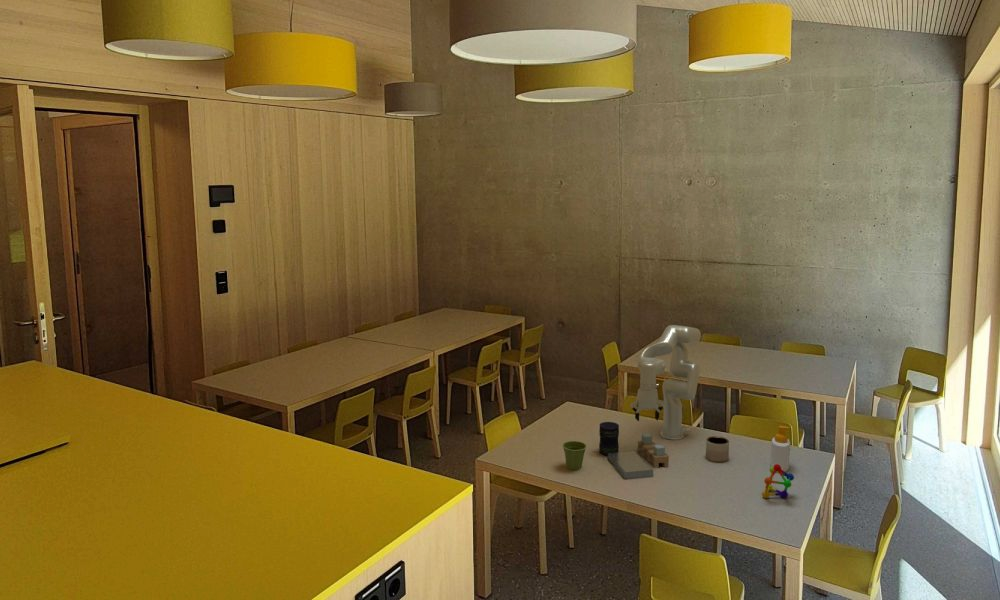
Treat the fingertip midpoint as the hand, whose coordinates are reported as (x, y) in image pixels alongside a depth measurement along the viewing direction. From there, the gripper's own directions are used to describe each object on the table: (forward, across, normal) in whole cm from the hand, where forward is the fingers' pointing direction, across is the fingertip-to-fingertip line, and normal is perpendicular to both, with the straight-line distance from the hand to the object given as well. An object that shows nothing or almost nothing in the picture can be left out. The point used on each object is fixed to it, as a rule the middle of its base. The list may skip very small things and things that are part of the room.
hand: (647, 419), depth 342 cm
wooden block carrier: (+20, -3, +2) cm, 20 cm away
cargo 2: (+14, -4, +10) cm, 18 cm away
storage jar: (+20, +17, -7) cm, 27 cm away
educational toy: (+20, -45, +48) cm, 68 cm away
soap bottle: (+20, -60, +19) cm, 66 cm away
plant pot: (+20, +38, +8) cm, 44 cm away
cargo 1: (+14, -2, -6) cm, 16 cm away
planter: (+20, -34, +6) cm, 40 cm away
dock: (+20, +11, +11) cm, 25 cm away
